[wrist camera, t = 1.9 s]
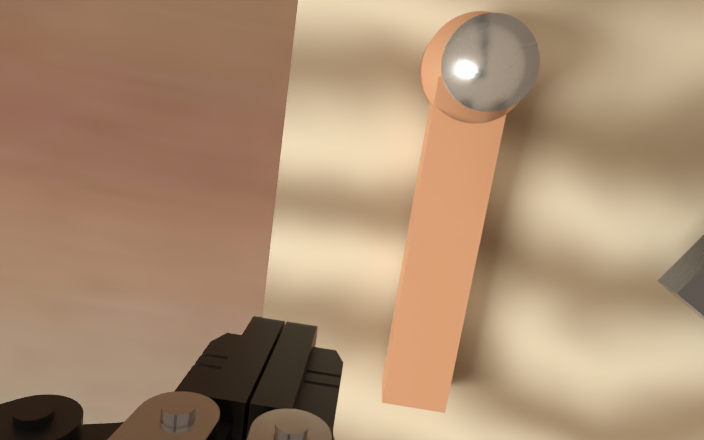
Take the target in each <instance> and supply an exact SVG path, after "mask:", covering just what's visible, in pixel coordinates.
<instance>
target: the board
mask: <svg viewBox="0 0 704 440" xmlns="http://www.w3.org/2000/svg"><path fill="white" fill-rule="evenodd" d="M474 11H488V12H493V13H503V14H507V15H510V16H513V17H515V18H517V19H518V20H520V21H521V22H523V23H524V24H525V25H526V26H527V27H528V28H529V29H530V31H531V32H532V34H533V35H534V37H535V39H536V42H537V44H538V48H539V54H540V65H539V71H538V75H537V78H536V80H535V83H534V84H533V86H532V88H531V89H530V91H529V92H528V93H527V95H526V96H525V97H524V98H523V99H521V101H520V102H519V103H518V104H517V105H516V106H515V107H514V108H513V109H512V110H511V111H510V112H509V113H507V114H506V118H505V123H504V128H503V133H502V137H501V142H500V147H499V152H498V157H497V162H496V167H495V172H494V176H493V181H492V186H491V191H490V196H489V201H488V206H487V211H486V216H485V220H484V225H483V230H482V235H481V240H480V245H479V250H478V255H477V259H476V264H475V269H474V274H473V279H472V284H471V289H470V294H469V298H468V303H467V308H466V313H465V318H464V323H463V328H462V333H461V338H460V342H459V347H458V352H457V357H456V362H455V367H454V372H453V377H452V381H451V386H450V391H449V396H448V401H447V406H446V411H445V413H442V412H436V411H430V410H424V409H417V408H411V407H405V406H399V405H393V404H387V403H382V377H383V372H384V366H385V360H386V354H387V348H388V343H389V337H390V331H391V325H392V319H393V314H394V308H395V302H396V296H397V290H398V285H399V279H400V273H401V267H402V261H403V256H404V250H405V244H406V238H407V232H408V227H409V221H410V215H411V209H412V203H413V198H414V192H415V186H416V180H417V174H418V169H419V163H420V157H421V151H422V145H423V140H424V134H425V128H426V122H427V116H428V111H429V105H430V103H429V102H428V100H427V99H426V97H425V95H424V93H423V90H422V87H421V82H420V64H421V60H422V56H423V54H424V51H425V49H426V47H427V45H428V44H429V42H430V41H431V39H432V38H433V37H434V35H435V34H436V33H437V32H438V31H439V29H440V28H441V27H442V26H444V25H445V24H446V23H447V22H449V21H450V20H452V19H453V18H455V17H457V16H459V15H462V14H465V13H469V12H474ZM703 235H704V0H298V7H297V16H296V25H295V34H294V43H293V52H292V60H291V69H290V78H289V87H288V96H287V104H286V113H285V122H284V131H283V140H282V149H281V157H280V166H279V175H278V184H277V193H276V201H275V210H274V219H273V228H272V237H271V246H270V254H269V263H268V272H267V281H266V290H265V298H264V307H263V316H262V318H269V319H275V320H281V321H285V324H286V322H287V321H288V322H294V323H301V324H307V325H313V326H318V329H317V338H316V345H315V347H318V348H325V349H331V350H336V351H337V353H338V354H339V356H340V358H341V359H342V361H343V369H342V375H341V382H340V388H339V395H338V401H337V408H336V414H335V421H334V427H333V436H334V439H335V440H704V319H702V318H701V317H700V316H699V315H698V314H696V313H695V312H694V311H693V310H692V309H690V308H689V307H688V306H687V305H685V304H684V303H683V302H682V301H681V300H679V299H678V298H677V297H676V296H675V295H673V294H672V293H671V292H670V291H668V290H667V289H666V288H665V287H664V286H662V285H661V284H660V283H659V282H658V280H659V279H660V278H661V277H662V276H663V275H664V274H665V273H666V272H667V271H668V270H669V269H670V268H671V267H672V266H673V265H674V264H675V263H676V262H677V261H678V260H679V259H680V258H681V257H682V256H683V255H684V254H685V253H686V252H687V251H688V250H689V249H690V248H691V247H692V246H693V245H694V244H695V243H696V242H697V241H698V240H699V239H700V238H701V237H702V236H703Z"/></svg>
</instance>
